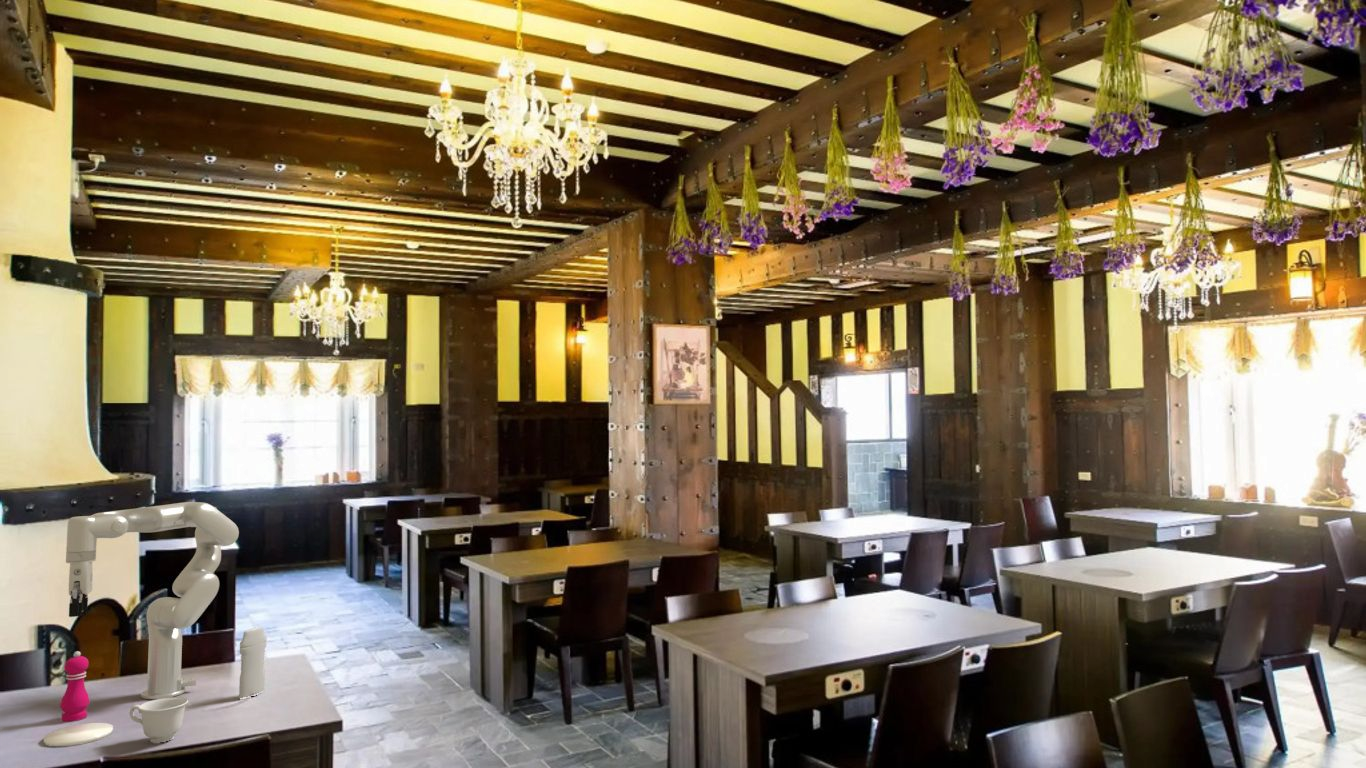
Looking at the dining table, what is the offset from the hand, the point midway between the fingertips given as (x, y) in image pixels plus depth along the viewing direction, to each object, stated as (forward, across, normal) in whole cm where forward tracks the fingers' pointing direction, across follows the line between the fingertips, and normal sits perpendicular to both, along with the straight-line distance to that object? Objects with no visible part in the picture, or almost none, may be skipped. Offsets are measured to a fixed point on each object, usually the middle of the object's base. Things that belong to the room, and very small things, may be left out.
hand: (78, 613), depth 257 cm
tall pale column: (+31, 0, -48) cm, 58 cm away
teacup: (+32, -34, -24) cm, 52 cm away
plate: (+31, -20, -4) cm, 37 cm away
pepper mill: (+32, 0, 0) cm, 32 cm away
